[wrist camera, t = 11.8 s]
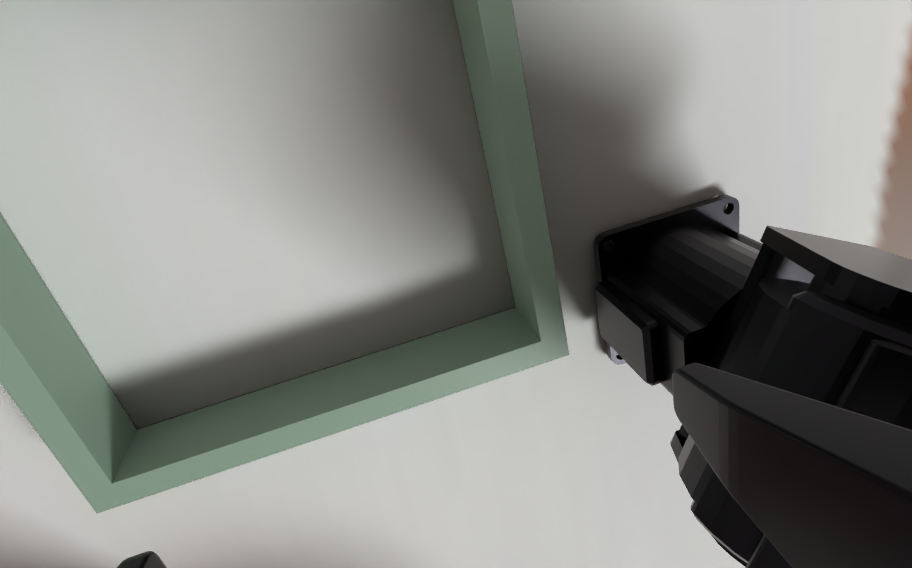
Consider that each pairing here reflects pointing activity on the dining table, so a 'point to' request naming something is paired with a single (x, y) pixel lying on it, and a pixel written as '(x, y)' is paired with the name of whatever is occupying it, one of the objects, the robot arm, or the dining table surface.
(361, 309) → the dining table surface
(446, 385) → the cold frame
